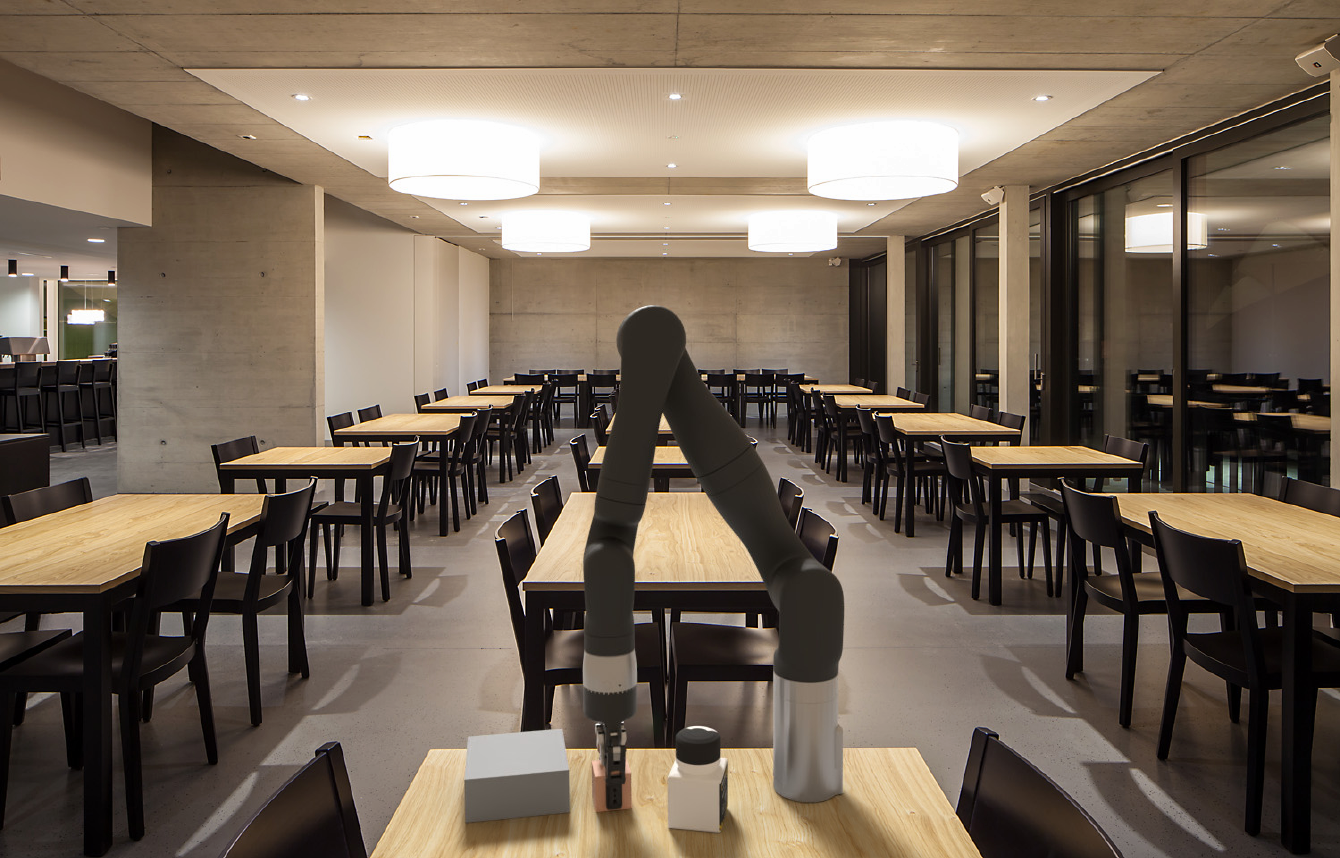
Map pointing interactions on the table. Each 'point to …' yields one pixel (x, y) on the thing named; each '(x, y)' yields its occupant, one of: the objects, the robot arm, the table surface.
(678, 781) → the medicine bottle
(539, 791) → the slate pedestal
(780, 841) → the table surface
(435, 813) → the table surface
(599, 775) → the terracotta cube
